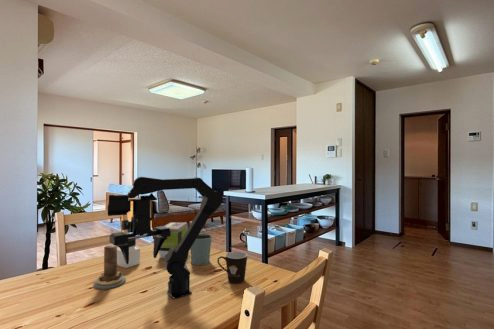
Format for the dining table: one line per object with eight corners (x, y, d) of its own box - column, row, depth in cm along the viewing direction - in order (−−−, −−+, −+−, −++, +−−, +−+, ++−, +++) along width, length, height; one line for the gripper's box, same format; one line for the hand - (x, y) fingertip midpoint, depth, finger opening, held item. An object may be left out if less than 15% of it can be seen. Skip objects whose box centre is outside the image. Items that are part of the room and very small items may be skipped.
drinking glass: (185, 262, 128) (185, 236, 129) (199, 256, 137) (199, 232, 137) (201, 267, 123) (202, 240, 123) (215, 260, 132) (216, 235, 132)
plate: (120, 275, 114) (120, 273, 114) (129, 283, 105) (129, 281, 105) (90, 282, 106) (90, 280, 106) (97, 292, 98) (97, 289, 98)
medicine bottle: (140, 263, 127) (140, 237, 127) (125, 268, 121) (126, 241, 121) (130, 260, 131) (130, 235, 131) (116, 265, 125) (116, 238, 125)
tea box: (170, 249, 150) (170, 221, 150) (188, 249, 149) (188, 222, 149) (158, 258, 135) (158, 227, 135) (178, 259, 134) (178, 228, 134)
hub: (118, 274, 112) (118, 271, 112) (126, 281, 105) (126, 278, 105) (94, 280, 106) (94, 277, 106) (100, 288, 99) (100, 285, 99)
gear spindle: (118, 273, 111) (118, 243, 111) (123, 278, 106) (124, 246, 106) (97, 278, 106) (97, 246, 106) (102, 283, 101) (102, 250, 101)
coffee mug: (251, 280, 109) (251, 254, 109) (236, 287, 103) (236, 260, 103) (231, 272, 117) (231, 248, 117) (215, 278, 111) (215, 253, 111)
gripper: (158, 208, 105) (158, 249, 105) (105, 213, 93) (104, 260, 93) (171, 212, 97) (171, 257, 97) (115, 218, 84) (114, 270, 84)
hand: (141, 260), depth 93 cm, fingers open, 9 cm apart
